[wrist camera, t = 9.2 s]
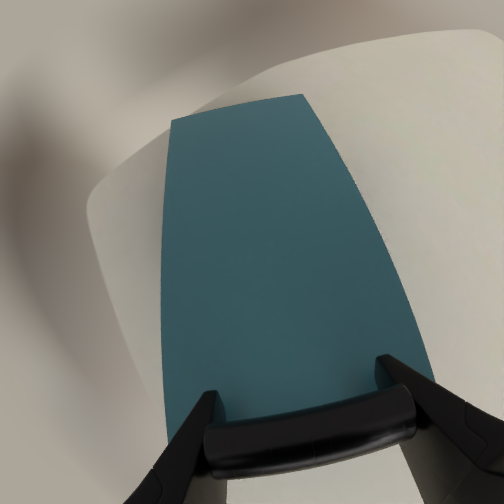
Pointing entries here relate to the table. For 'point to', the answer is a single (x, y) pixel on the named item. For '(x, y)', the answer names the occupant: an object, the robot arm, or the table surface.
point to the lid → (278, 295)
